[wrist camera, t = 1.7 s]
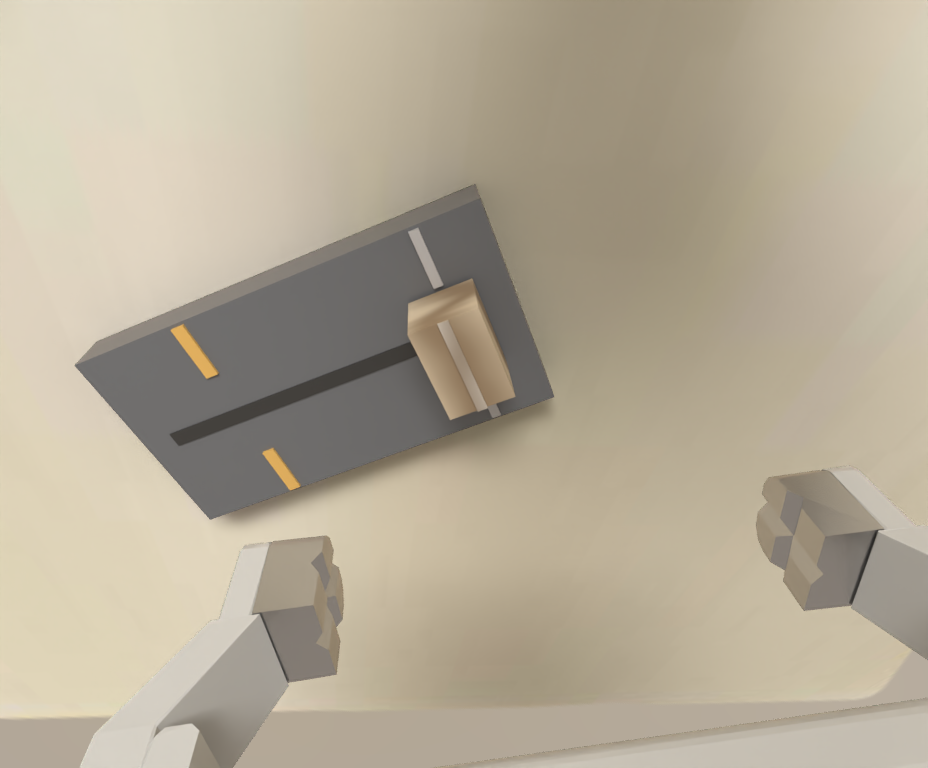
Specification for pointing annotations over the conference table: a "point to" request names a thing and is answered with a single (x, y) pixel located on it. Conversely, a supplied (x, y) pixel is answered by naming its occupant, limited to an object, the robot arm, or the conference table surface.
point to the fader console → (311, 360)
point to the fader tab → (459, 349)
